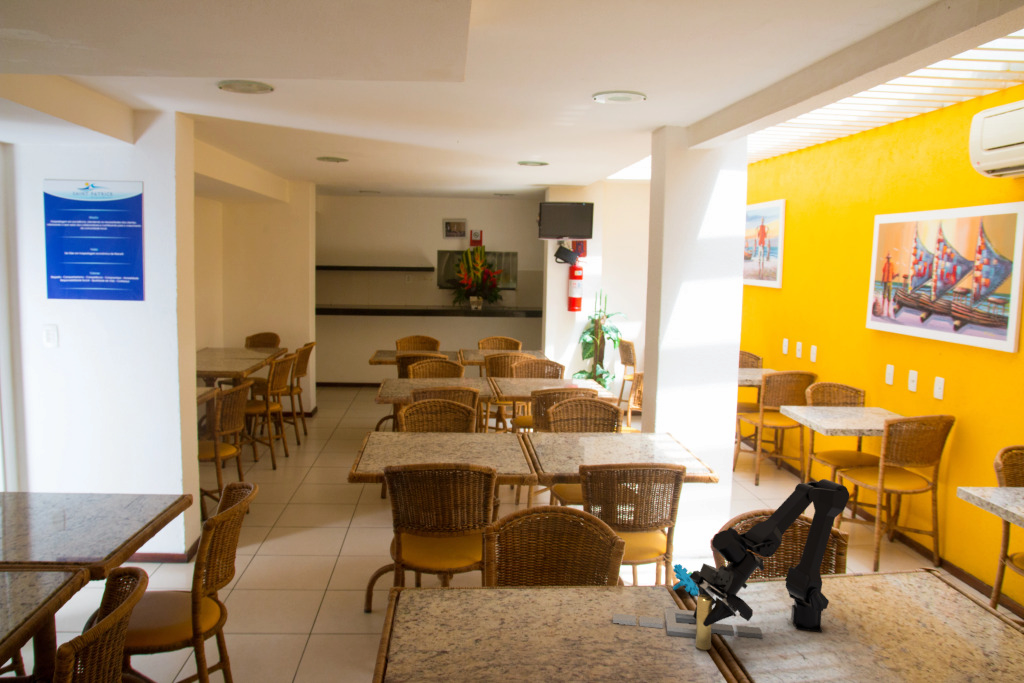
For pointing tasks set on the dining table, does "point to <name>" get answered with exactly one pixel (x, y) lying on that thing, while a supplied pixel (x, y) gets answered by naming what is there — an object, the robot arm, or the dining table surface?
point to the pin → (702, 631)
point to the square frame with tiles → (685, 629)
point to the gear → (685, 580)
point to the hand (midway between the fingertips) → (699, 621)
